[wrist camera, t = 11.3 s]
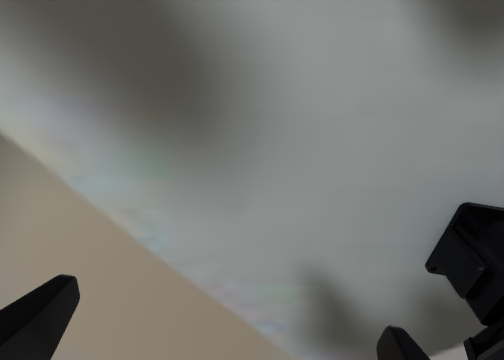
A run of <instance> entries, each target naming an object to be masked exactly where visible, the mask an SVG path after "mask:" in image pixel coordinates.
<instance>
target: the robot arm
mask: <svg viewBox="0 0 504 360" xmlns="http://www.w3.org/2000/svg"><path fill="white" fill-rule="evenodd" d="M467 209H469V210H468V211H466V210H467ZM433 266H434V267H433ZM425 267H426V269H427V271H428V272H429V273H433V274H440V275H446V277H447V278H448V280H449V281H450V283H451V284H452V286H453V287H454V289H455V290H456V292H457V293H458V295H459V296H460V297H461V298H464V299H465V300H466V301H467V303H468V304H469V306H470V307H471V309H472V310H473V312H474V313H475V315H476V316H477V318H478V319H479V321H480V322H481V324H482V325H486V326H488V327H486V328H485V329H484V330H482V331H481V332H479V333H478V334H477V335H475V336H474V337H473V338H471V337H470V338H468V339H467V340H465V341H464V342H463V343H464V347H465V350H466V353H467V357H468V360H504V208H500V207H494V206H488V205H482V204H476V203H470V202H466V203H463V204H462V205H460V206H459V208H458V209H457V211H456V213H455V215H454V216H453V218H452V220H451V221H450V223H449V225H448V226H447V228H446V230H445V232H444V233H443V235H442V237H441V238H440V240H439V242H438V244H437V245H436V247H435V249H434V250H433V252H432V254H431V255H430V257H429V259H428V261H427V262H426V264H425ZM79 299H80V293H79V288H78V283H77V279H76V277H75V276H71V275H64V274H61V275H58V276H56V277H54V278H53V279H51V280H49V281H48V282H46V283H44V284H43V285H41V286H39V287H38V288H36V289H34V290H33V291H31V292H29V293H28V294H26V295H24V296H23V297H21V298H20V299H18V300H16V301H15V302H13V303H11V304H10V305H8V306H6V307H4V308H3V309H1V310H0V360H50V359H51V358H52V356H53V354H54V352H55V350H56V348H57V346H58V344H59V342H60V340H61V338H62V336H63V333H64V332H65V330H66V328H67V326H68V323H69V321H70V319H71V317H72V315H73V313H74V311H75V309H76V307H77V305H78V303H79ZM377 357H378V360H430V359H429V357H428V356H427V355H426V354H425V353H424V352H423V351H422V349H421V348H420V347H419V346H418V345H417V344H416V342H415V341H414V340H413V339H412V338H411V337H410V336H409V334H408V333H407V332H406V331H405V330H404V329H402V328H400V327H394V326H388V327H386V328H385V330H384V332H383V333H382V335H381V337H380V339H379V340H378V343H377Z"/></svg>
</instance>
